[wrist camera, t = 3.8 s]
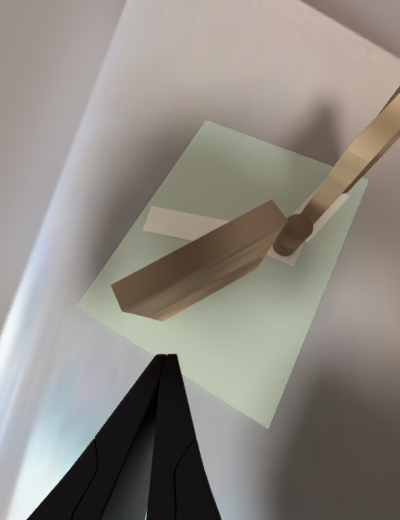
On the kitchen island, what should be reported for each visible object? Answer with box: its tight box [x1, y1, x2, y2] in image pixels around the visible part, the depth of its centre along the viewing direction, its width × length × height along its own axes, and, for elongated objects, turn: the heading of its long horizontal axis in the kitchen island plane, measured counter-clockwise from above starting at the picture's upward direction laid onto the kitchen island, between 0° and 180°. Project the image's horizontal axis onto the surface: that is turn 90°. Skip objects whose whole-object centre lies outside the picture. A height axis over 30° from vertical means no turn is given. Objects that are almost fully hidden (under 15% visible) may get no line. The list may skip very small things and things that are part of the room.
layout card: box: [76, 120, 369, 429], centre depth 19 cm, size 16×21×1 cm
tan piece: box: [273, 86, 400, 256], centre depth 15 cm, size 2×9×9 cm, turn 136°
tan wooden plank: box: [111, 199, 288, 322], centre depth 13 cm, size 8×1×8 cm, turn 119°
